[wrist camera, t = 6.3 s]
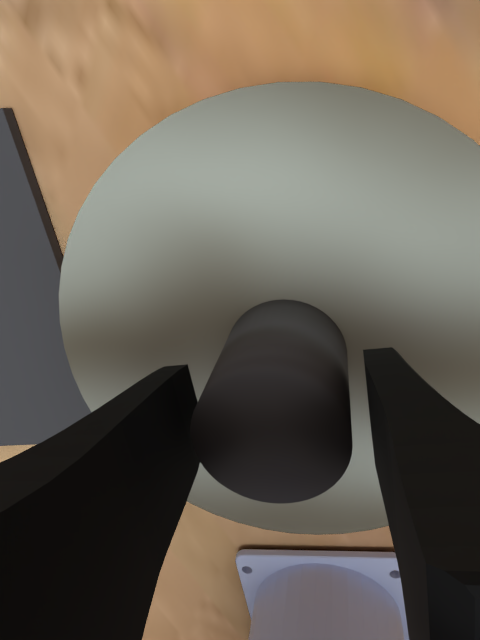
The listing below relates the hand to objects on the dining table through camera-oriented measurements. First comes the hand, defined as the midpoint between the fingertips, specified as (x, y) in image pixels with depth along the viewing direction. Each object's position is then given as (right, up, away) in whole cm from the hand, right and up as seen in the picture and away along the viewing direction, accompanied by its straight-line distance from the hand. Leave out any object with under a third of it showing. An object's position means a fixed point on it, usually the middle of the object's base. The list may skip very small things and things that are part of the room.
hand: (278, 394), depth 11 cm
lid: (0, +1, +2) cm, 3 cm away
